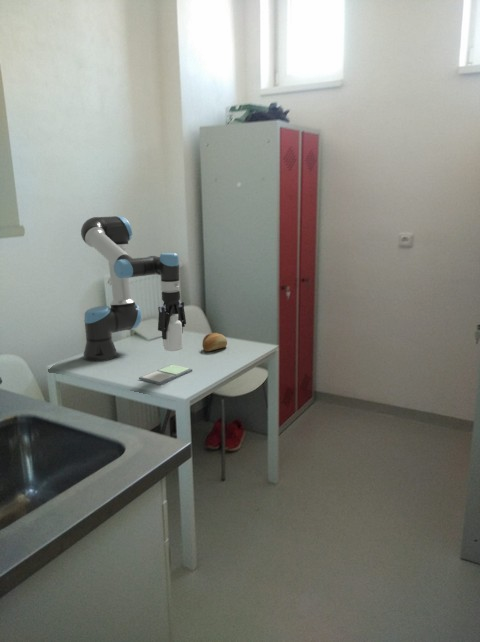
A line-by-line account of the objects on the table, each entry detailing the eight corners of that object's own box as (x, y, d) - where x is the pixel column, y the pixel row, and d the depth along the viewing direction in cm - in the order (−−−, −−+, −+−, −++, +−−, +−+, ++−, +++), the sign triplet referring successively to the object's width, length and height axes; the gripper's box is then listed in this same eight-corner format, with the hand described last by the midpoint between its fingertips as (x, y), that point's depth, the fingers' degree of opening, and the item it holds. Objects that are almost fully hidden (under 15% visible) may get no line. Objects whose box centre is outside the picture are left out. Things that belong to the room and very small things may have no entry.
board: (138, 379, 208) (138, 376, 208) (171, 366, 225) (171, 363, 224) (160, 384, 202) (160, 382, 202) (192, 371, 218) (192, 368, 218)
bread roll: (197, 351, 247) (196, 335, 245) (216, 344, 259) (216, 329, 257) (211, 354, 242) (211, 338, 240) (231, 347, 253) (231, 332, 251)
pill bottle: (173, 345, 220) (172, 311, 217) (186, 348, 215) (185, 314, 212) (159, 349, 214) (158, 314, 211) (173, 352, 209) (171, 317, 206)
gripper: (160, 295, 199) (163, 351, 204) (193, 288, 215) (195, 339, 221) (146, 293, 203) (149, 348, 208) (180, 286, 219) (182, 337, 225)
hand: (173, 343), depth 214 cm, fingers closed on pill bottle, 8 cm apart
